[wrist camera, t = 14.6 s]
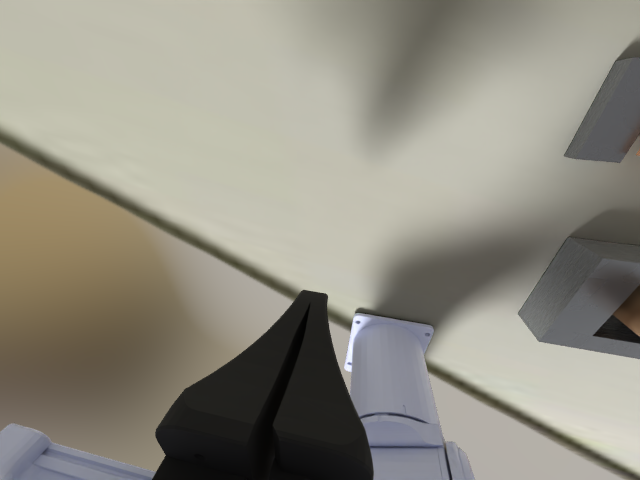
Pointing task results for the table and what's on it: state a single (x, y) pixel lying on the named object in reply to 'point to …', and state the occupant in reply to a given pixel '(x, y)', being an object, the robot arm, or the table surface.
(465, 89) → the table surface
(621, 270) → the block
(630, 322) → the peg
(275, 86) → the table surface
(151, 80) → the table surface
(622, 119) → the base
